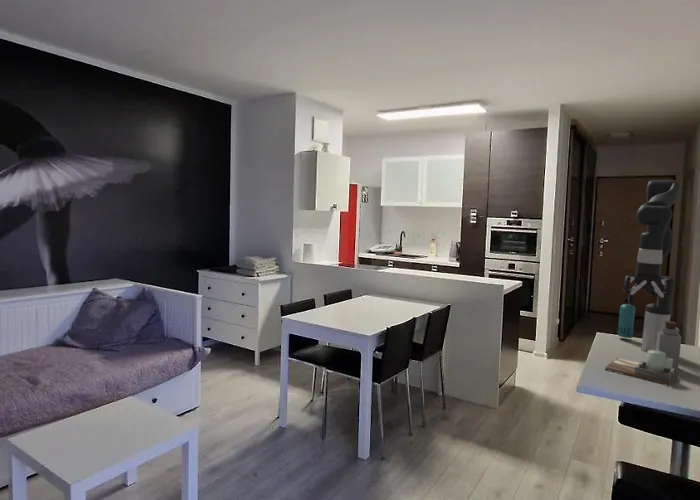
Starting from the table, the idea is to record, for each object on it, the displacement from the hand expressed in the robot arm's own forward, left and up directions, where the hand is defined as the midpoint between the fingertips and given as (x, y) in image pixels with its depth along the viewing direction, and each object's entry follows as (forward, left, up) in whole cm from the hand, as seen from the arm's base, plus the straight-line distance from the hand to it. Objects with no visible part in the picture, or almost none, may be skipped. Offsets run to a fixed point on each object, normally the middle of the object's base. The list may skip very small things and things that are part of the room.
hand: (644, 306), depth 171 cm
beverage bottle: (-54, -17, -26) cm, 63 cm away
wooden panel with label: (-6, 0, -26) cm, 27 cm away
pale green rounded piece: (-5, +6, -25) cm, 26 cm away
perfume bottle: (-21, +5, -26) cm, 34 cm away
